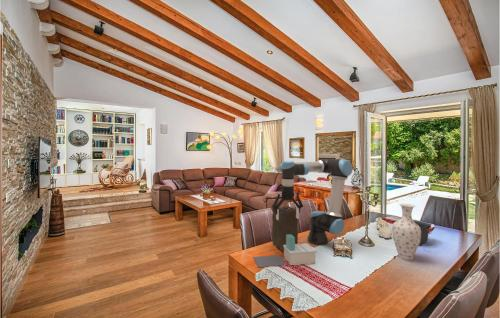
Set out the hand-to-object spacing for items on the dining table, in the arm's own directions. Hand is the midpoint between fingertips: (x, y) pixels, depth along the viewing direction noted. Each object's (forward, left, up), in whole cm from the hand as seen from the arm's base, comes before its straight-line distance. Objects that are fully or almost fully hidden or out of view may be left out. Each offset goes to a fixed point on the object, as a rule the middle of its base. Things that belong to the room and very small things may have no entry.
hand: (287, 218), depth 153 cm
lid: (-8, +2, -20) cm, 21 cm away
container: (-5, -18, -27) cm, 33 cm away
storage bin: (-111, -10, -27) cm, 114 cm away
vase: (-79, +11, -27) cm, 84 cm away
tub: (-8, +2, -27) cm, 28 cm away
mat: (+11, 0, -27) cm, 29 cm away
